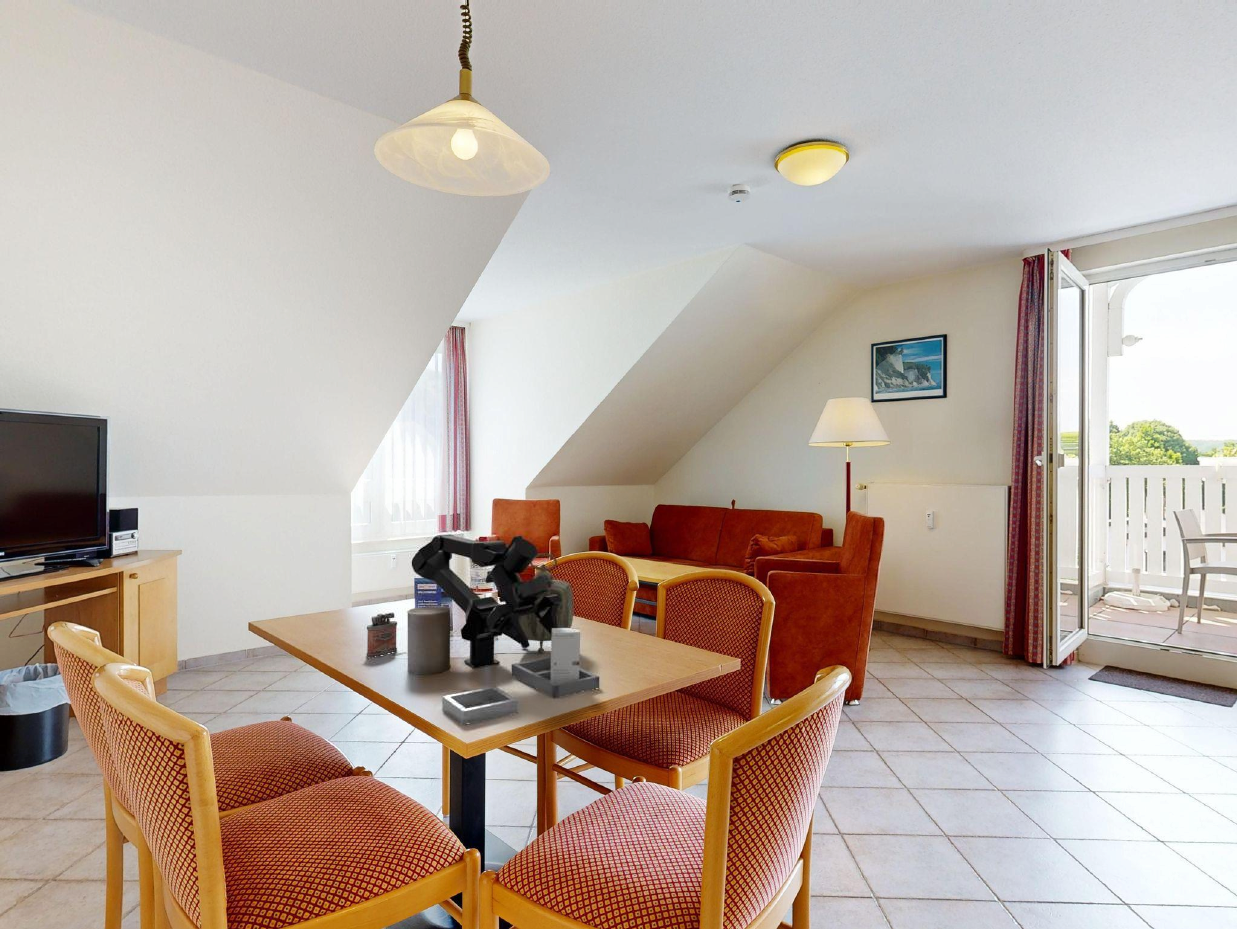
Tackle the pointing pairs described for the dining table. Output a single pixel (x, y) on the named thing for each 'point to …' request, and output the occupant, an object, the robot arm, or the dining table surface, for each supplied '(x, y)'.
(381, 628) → the lighter
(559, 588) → the tabletop clock
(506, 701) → the socket
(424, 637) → the pillar candle
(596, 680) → the rack
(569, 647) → the skincare box
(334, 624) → the dining table surface
